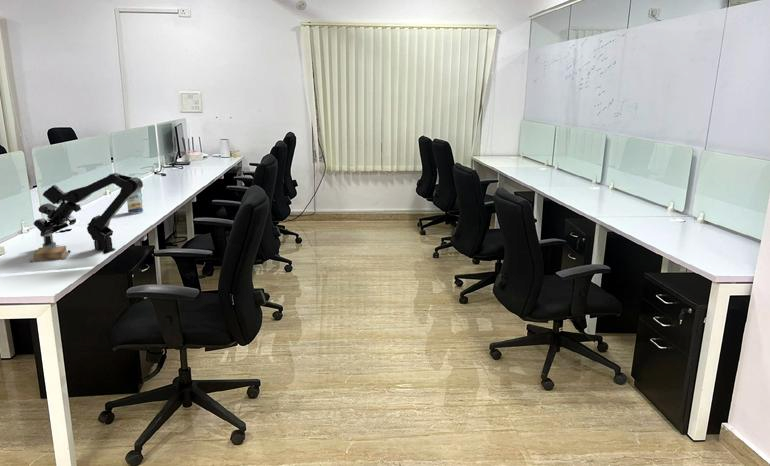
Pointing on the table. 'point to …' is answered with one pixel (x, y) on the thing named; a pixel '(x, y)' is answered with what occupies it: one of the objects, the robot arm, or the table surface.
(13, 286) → the table surface
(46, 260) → the base plate
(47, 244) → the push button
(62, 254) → the tan flat square block
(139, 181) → the robot arm
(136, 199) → the beverage bottle
